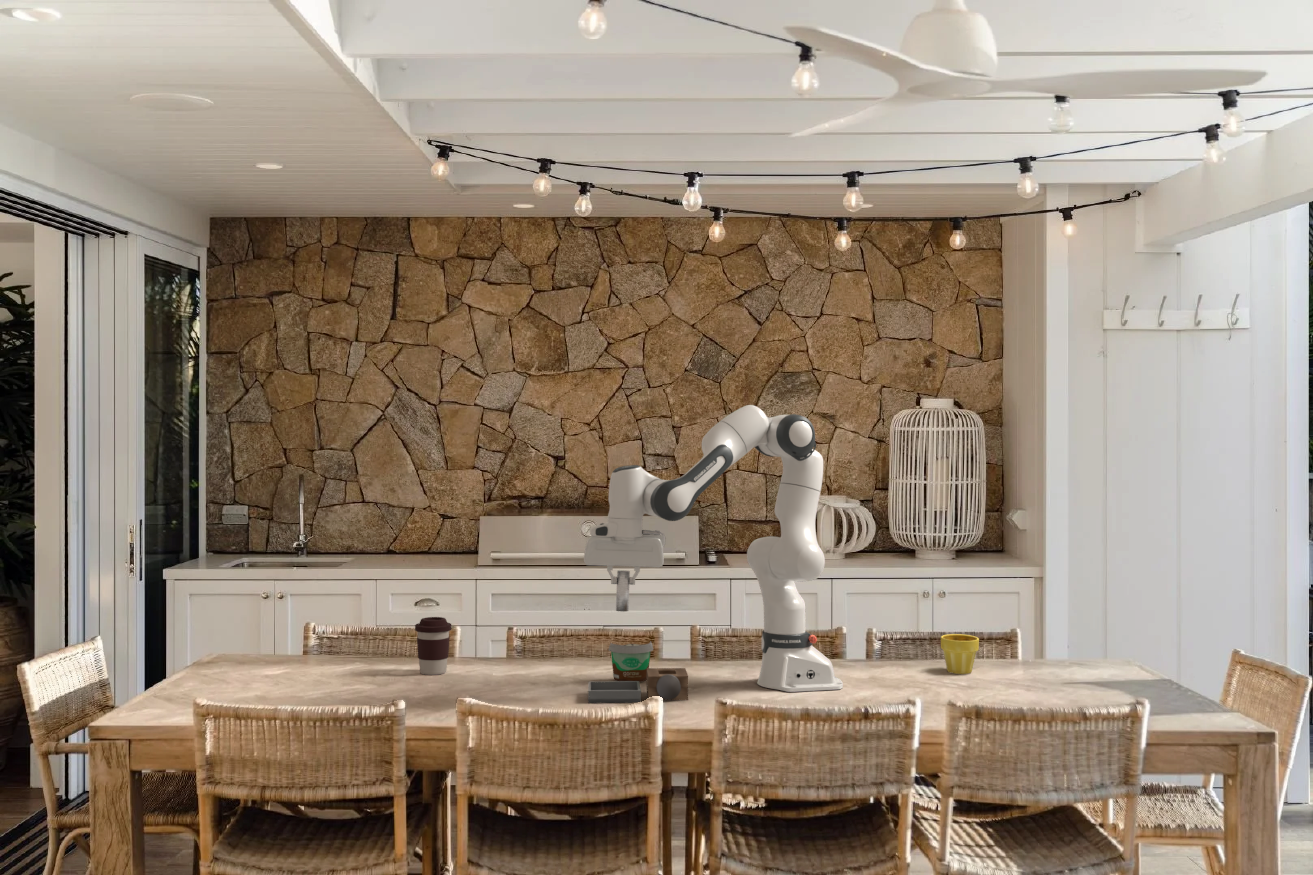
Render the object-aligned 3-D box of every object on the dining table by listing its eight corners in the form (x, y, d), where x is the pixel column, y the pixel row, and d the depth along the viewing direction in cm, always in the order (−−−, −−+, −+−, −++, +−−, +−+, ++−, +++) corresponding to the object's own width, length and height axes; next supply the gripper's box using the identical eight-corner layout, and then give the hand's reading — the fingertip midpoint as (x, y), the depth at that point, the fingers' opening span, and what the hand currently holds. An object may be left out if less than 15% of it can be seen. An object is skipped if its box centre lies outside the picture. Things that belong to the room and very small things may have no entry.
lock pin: (628, 609, 305) (629, 570, 305) (628, 611, 302) (630, 571, 302) (615, 609, 305) (617, 570, 305) (615, 611, 302) (617, 571, 302)
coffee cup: (455, 669, 337) (455, 616, 337) (445, 676, 328) (446, 621, 327) (420, 668, 338) (421, 615, 338) (410, 675, 328) (410, 621, 328)
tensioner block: (685, 691, 312) (685, 666, 312) (688, 701, 300) (688, 675, 300) (646, 691, 311) (646, 666, 311) (648, 701, 299) (648, 675, 299)
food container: (613, 684, 319) (613, 646, 319) (608, 679, 325) (608, 642, 325) (658, 681, 323) (658, 644, 322) (652, 677, 328) (652, 640, 328)
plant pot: (969, 677, 331) (970, 641, 330) (934, 672, 337) (934, 637, 337) (984, 671, 339) (984, 636, 339) (949, 666, 345) (950, 632, 345)
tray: (639, 692, 309) (639, 681, 309) (640, 702, 298) (640, 690, 298) (588, 693, 309) (588, 681, 309) (588, 702, 298) (588, 690, 298)
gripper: (665, 529, 307) (663, 583, 307) (585, 527, 306) (583, 581, 306) (666, 531, 301) (664, 586, 301) (584, 529, 300) (582, 584, 300)
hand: (622, 584), depth 304 cm, fingers closed on lock pin, 3 cm apart
